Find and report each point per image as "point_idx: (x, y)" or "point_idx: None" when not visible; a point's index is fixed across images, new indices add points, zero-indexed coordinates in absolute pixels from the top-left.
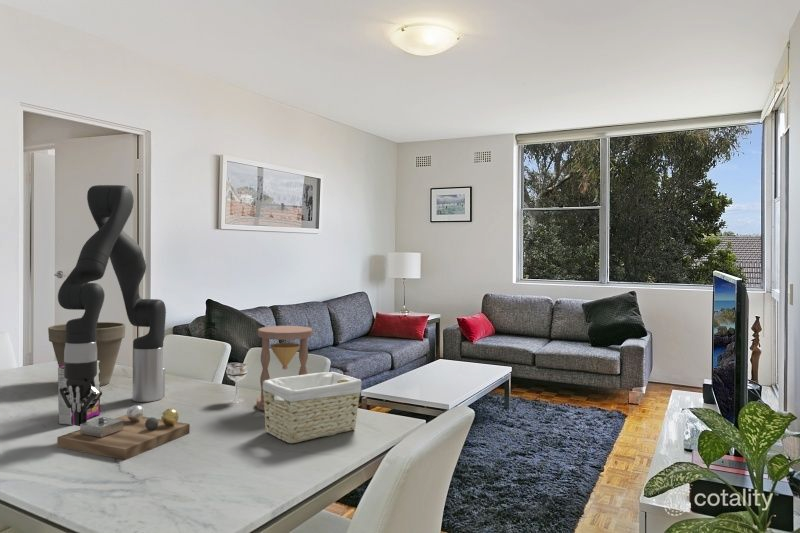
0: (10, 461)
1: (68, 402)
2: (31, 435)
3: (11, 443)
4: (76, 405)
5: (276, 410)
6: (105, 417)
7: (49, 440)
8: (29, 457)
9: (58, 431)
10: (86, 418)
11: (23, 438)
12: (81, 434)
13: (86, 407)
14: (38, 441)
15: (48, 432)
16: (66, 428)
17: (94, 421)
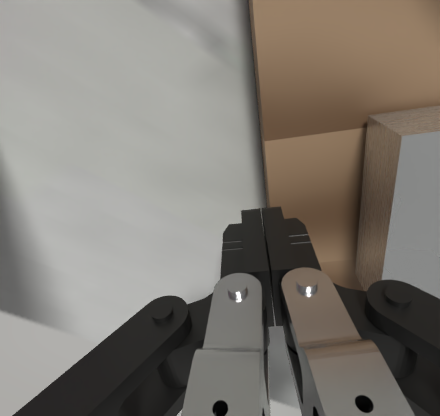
0: (272, 394)
1: (170, 410)
2: (34, 263)
3: (94, 332)
4: (268, 376)
5: None
6: (438, 135)
7: (164, 263)
8: (289, 366)
9: (47, 176)
10: (309, 237)
11: (58, 293)
12: (355, 261)
13: (428, 375)
14: (142, 286)
15: (33, 209)
16: (14, 123)
17: (426, 245)
